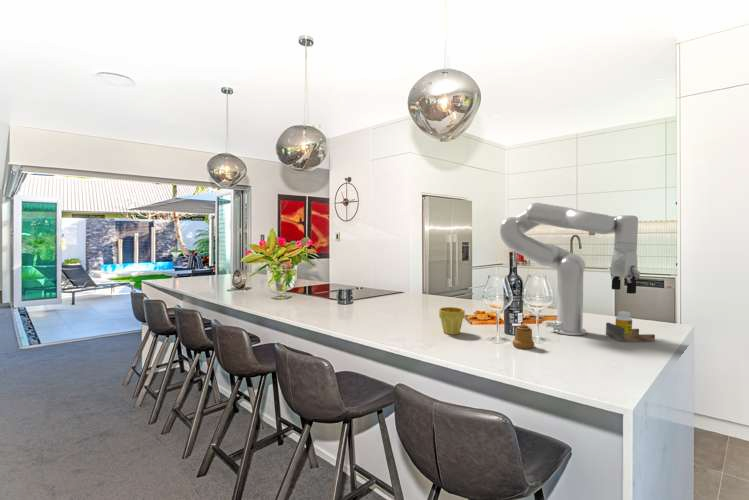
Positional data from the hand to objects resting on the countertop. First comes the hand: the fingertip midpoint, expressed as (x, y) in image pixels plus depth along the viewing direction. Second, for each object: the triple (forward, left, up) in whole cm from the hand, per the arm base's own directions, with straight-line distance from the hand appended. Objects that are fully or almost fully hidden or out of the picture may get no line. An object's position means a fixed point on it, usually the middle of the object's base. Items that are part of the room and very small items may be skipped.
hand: (623, 291), depth 161 cm
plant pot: (-65, +10, -19) cm, 68 cm away
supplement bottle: (0, 0, -19) cm, 19 cm away
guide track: (+3, 0, -18) cm, 19 cm away
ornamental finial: (-43, -11, -19) cm, 48 cm away
